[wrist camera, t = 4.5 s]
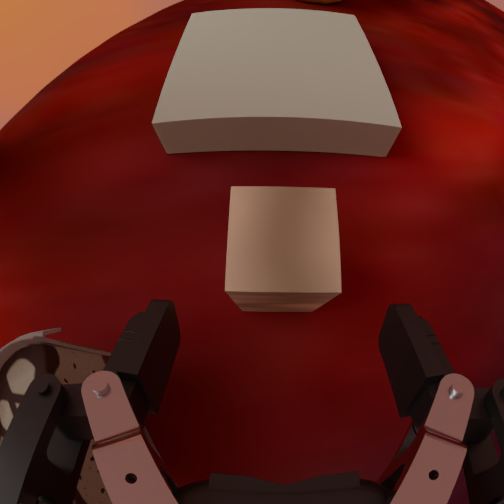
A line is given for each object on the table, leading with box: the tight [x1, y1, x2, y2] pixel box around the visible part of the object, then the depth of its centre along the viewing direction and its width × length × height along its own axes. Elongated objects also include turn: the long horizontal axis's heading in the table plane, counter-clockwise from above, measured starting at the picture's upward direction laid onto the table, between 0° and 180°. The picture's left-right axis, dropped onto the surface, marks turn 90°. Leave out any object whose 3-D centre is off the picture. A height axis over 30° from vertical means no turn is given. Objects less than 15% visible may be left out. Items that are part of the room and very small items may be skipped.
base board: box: [152, 8, 402, 157], centre depth 23 cm, size 18×18×4 cm
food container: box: [0, 328, 112, 504], centre depth 12 cm, size 12×6×10 cm, turn 7°
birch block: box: [225, 186, 342, 312], centre depth 16 cm, size 4×4×8 cm
